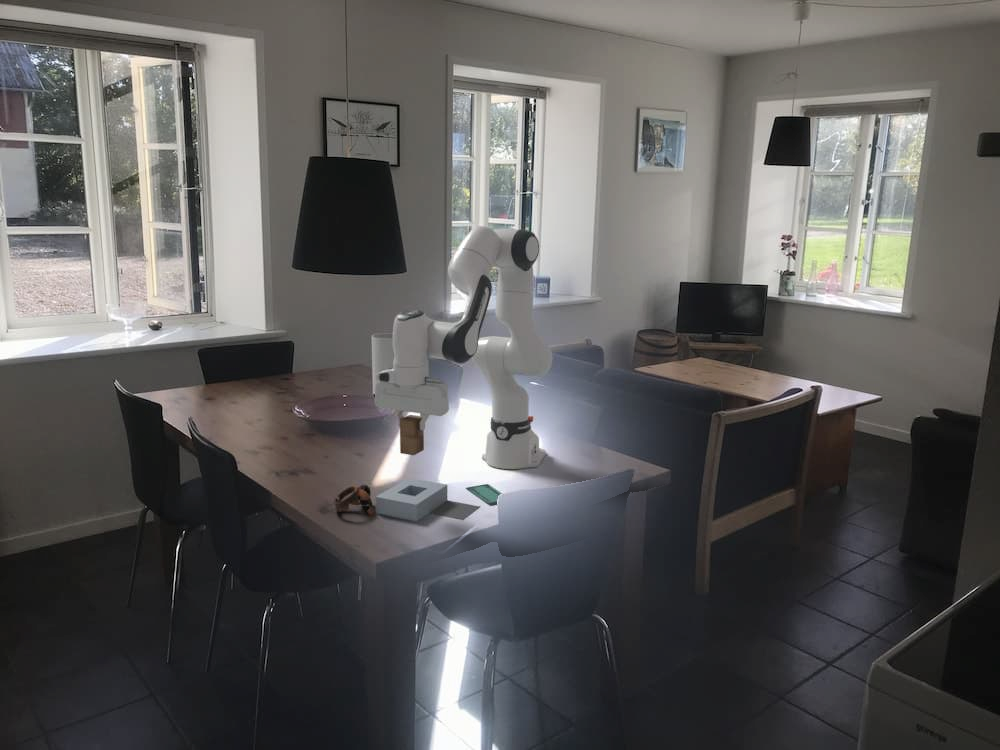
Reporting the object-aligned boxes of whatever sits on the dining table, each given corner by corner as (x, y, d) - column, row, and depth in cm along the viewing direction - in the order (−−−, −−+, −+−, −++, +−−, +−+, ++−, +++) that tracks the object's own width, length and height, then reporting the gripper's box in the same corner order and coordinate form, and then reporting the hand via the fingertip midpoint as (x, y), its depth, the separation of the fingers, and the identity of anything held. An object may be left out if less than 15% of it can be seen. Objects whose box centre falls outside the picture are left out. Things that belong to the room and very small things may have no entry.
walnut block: (410, 447, 208) (410, 414, 206) (423, 450, 207) (423, 416, 205) (400, 453, 204) (399, 419, 202) (413, 455, 202) (413, 421, 200)
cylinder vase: (370, 399, 322) (368, 338, 317) (376, 391, 334) (374, 333, 329) (401, 399, 322) (400, 338, 317) (405, 392, 334) (404, 333, 329)
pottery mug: (370, 524, 200) (353, 498, 197) (341, 534, 203) (323, 509, 201) (386, 496, 210) (369, 471, 208) (358, 506, 214) (341, 482, 211)
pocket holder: (409, 495, 218) (408, 477, 217) (447, 502, 213) (447, 484, 212) (376, 515, 204) (375, 496, 203) (416, 523, 199) (416, 504, 198)
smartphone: (490, 505, 209) (465, 487, 222) (490, 509, 210) (465, 491, 222) (514, 500, 213) (488, 483, 226) (514, 505, 213) (488, 487, 226)
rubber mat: (447, 502, 213) (447, 500, 213) (480, 508, 209) (480, 506, 209) (428, 515, 204) (428, 513, 204) (463, 522, 200) (463, 520, 200)
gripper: (453, 377, 199) (453, 430, 202) (384, 369, 208) (385, 420, 211) (440, 382, 194) (441, 436, 197) (370, 373, 202) (371, 426, 205)
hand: (411, 428), depth 204 cm, fingers closed on walnut block, 4 cm apart
